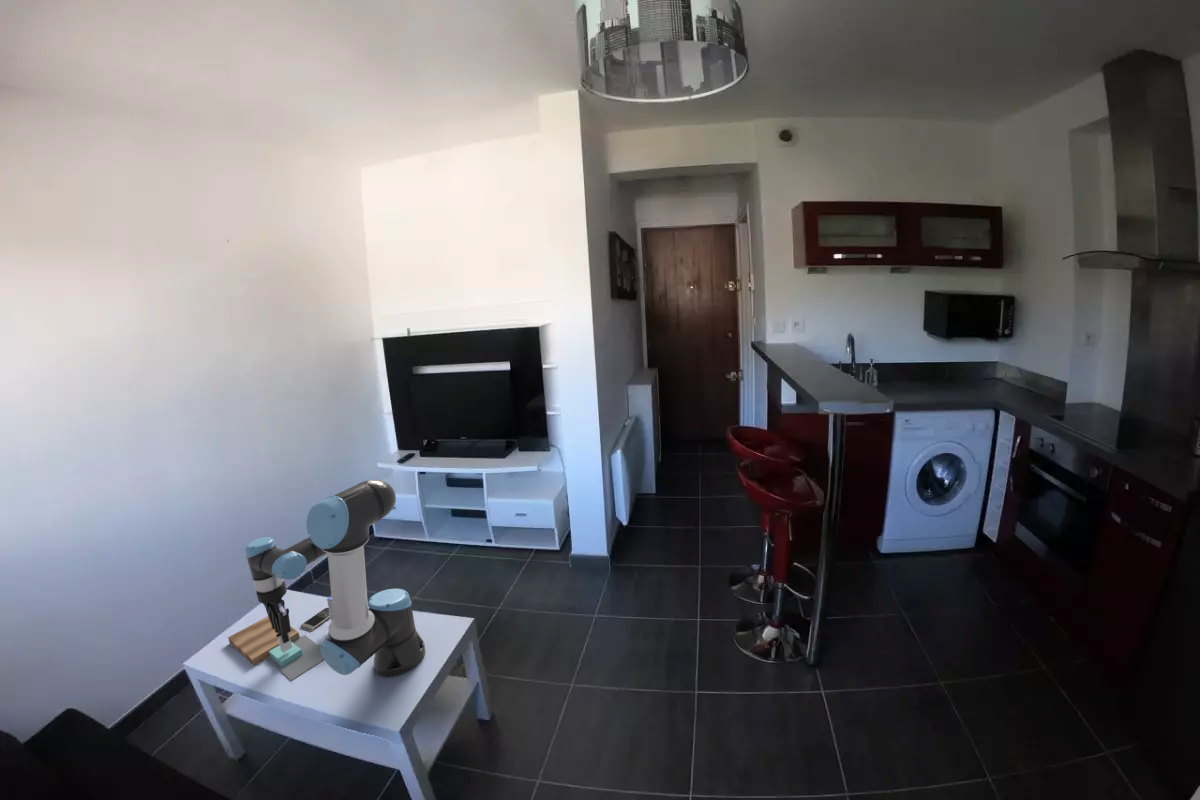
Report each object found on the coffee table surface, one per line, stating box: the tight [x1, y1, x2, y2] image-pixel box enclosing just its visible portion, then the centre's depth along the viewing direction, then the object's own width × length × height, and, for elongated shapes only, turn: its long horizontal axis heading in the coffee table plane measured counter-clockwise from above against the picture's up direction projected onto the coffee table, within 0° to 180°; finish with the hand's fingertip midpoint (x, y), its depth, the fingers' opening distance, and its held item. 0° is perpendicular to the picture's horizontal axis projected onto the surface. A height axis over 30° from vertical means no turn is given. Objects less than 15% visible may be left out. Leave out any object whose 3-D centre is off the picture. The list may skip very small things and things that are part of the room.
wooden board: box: [227, 615, 300, 667], centre depth 162 cm, size 20×14×2 cm
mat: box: [265, 634, 325, 682], centre depth 153 cm, size 18×12×1 cm, turn 56°
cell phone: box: [300, 607, 331, 632], centre depth 171 cm, size 6×11×1 cm, turn 157°
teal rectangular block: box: [269, 642, 303, 667], centre depth 154 cm, size 9×6×2 cm, turn 56°
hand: (286, 649), depth 152 cm, fingers closed
